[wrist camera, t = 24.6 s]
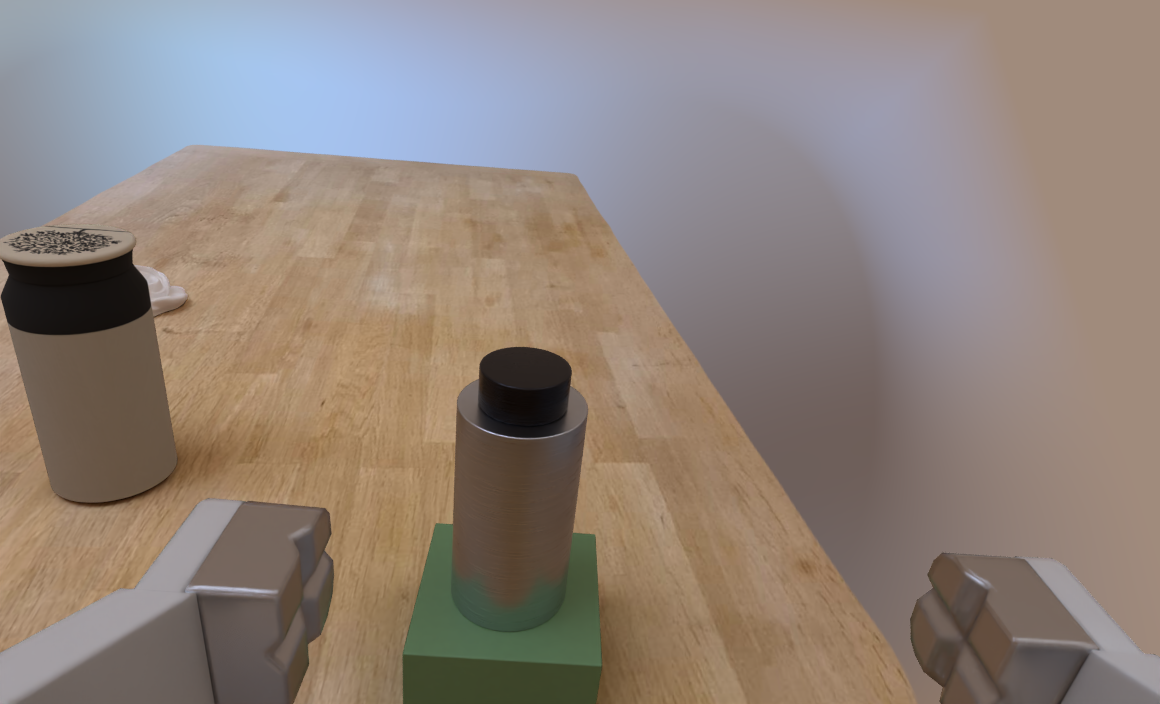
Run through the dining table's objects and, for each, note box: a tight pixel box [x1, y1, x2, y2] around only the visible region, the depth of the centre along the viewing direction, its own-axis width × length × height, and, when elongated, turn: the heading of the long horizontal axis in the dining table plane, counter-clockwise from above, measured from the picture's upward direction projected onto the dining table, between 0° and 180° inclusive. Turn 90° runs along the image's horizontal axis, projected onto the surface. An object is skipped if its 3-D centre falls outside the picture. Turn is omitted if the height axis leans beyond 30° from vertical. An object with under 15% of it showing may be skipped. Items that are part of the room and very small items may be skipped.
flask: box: [451, 347, 588, 632], centre depth 37 cm, size 6×6×14 cm
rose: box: [134, 265, 188, 317], centre depth 78 cm, size 10×4×10 cm
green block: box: [403, 523, 602, 704], centre depth 41 cm, size 10×10×5 cm
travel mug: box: [0, 224, 177, 503], centre depth 49 cm, size 8×8×18 cm
